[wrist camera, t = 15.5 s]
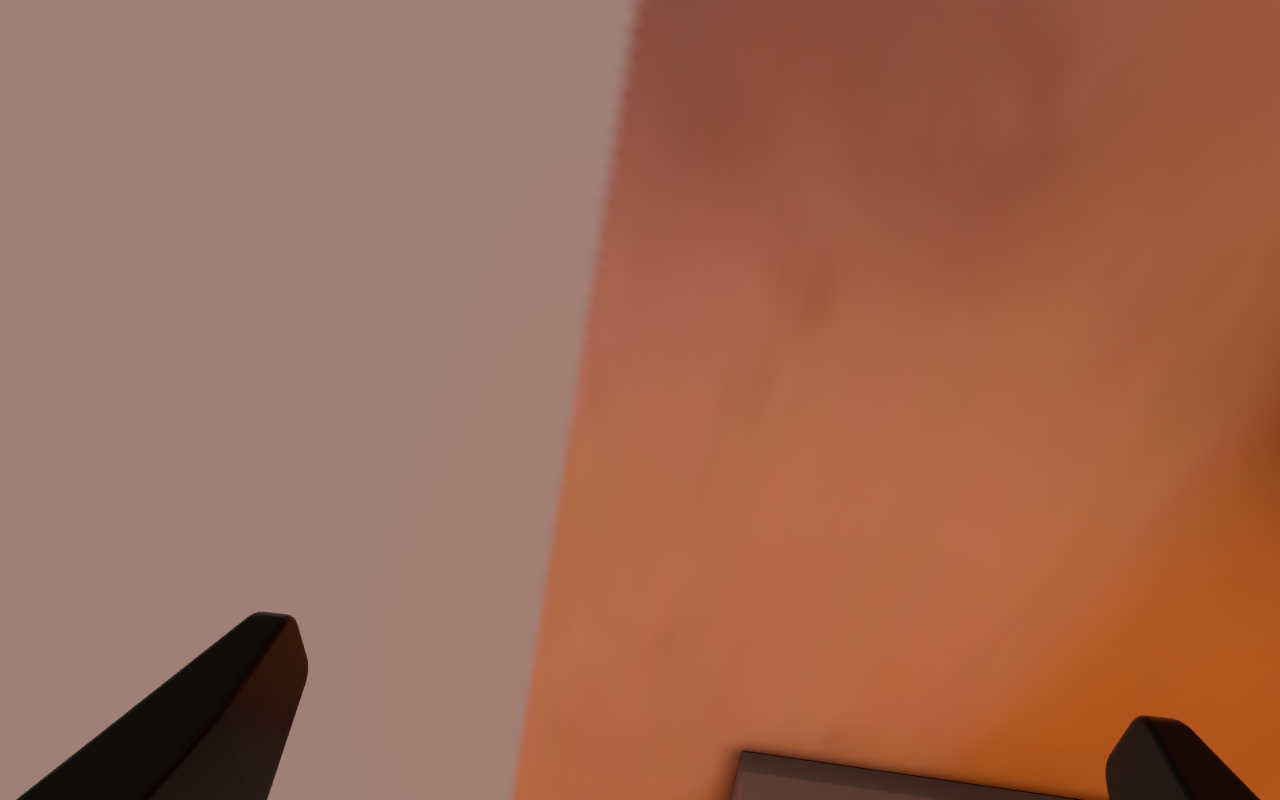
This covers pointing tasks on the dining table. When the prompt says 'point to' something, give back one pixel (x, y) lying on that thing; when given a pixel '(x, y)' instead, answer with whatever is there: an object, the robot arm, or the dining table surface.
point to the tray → (850, 783)
